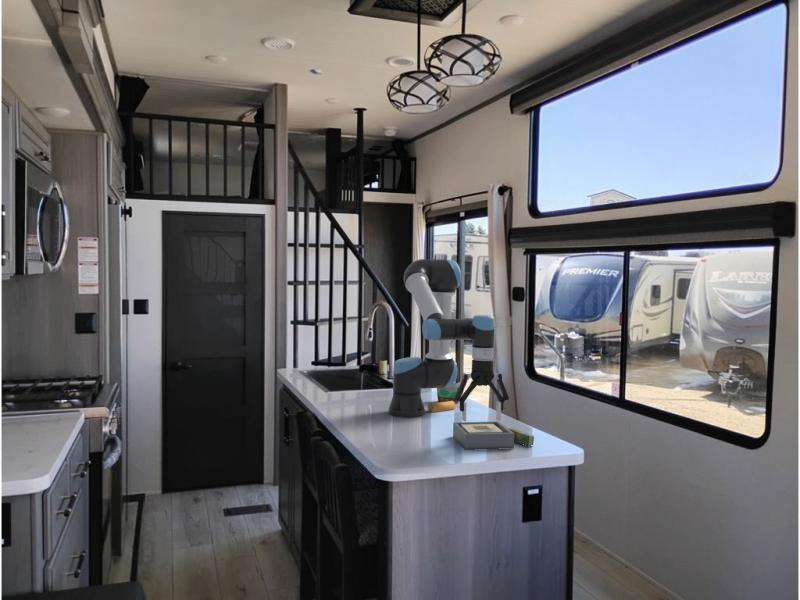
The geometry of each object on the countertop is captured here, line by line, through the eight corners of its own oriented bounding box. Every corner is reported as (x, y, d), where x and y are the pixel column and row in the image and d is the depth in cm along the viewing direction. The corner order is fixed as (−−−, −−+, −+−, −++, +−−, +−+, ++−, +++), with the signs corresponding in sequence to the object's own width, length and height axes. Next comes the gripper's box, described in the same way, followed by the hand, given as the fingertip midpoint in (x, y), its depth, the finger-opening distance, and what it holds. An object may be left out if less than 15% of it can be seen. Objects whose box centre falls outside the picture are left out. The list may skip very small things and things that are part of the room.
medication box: (533, 447, 221) (535, 435, 221) (527, 447, 219) (529, 436, 219) (510, 438, 231) (511, 427, 231) (504, 438, 230) (506, 427, 230)
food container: (432, 404, 287) (432, 382, 287) (434, 401, 293) (435, 380, 292) (459, 406, 284) (460, 384, 284) (461, 403, 290) (462, 381, 290)
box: (452, 437, 231) (453, 422, 231) (498, 436, 234) (498, 421, 233) (465, 450, 214) (465, 434, 214) (513, 449, 217) (514, 433, 217)
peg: (428, 402, 272) (449, 399, 279) (427, 411, 272) (449, 408, 279) (433, 405, 268) (455, 402, 275) (432, 414, 269) (454, 411, 276)
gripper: (451, 361, 219) (450, 423, 220) (519, 360, 223) (517, 421, 224) (446, 357, 226) (445, 418, 227) (511, 357, 230) (510, 416, 231)
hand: (481, 420), depth 226 cm, fingers open, 12 cm apart
